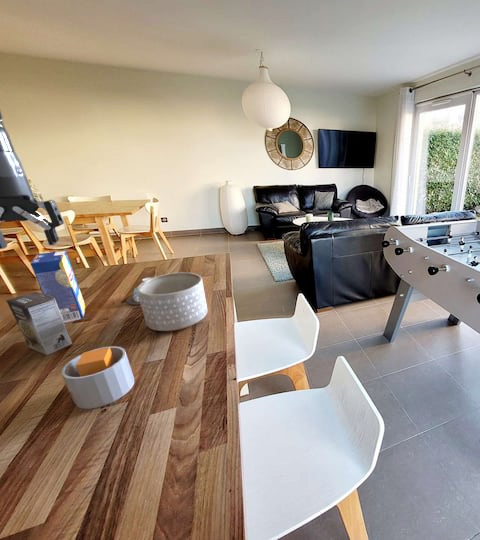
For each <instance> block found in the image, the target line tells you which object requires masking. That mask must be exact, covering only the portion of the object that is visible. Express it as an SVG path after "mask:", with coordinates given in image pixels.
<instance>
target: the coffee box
mask: <svg viewBox="0 0 480 540" xmlns="http://www.w3.org/2000/svg"><path fill="white" fill-rule="evenodd" d="M5 301H6V304H7V305H8V307H9V309H10V311H11V314H12V316H13V318H14V319H15V321H16V323H17V325H18V327H19V329H20V332H21V334H22V336H23V338H24V341H25V343H26V344H27V346H28V348H29V349H31V350H34V351H35V352H38V353H40V354H43V355H46V356H48V355H51V354H53V353H55V352H57V351H60V350H63V349H64V348H66V347H68V346H71V345H73V341H72V339H71V337H70V334H69V332H68V329H67V326H66V324H65V323H64V321H63V318H62V316H61V313H60V311H59V308H58V306H57V303H56V301H55V298H54V297H51V296H47V295H44V294H43V293H41V292H38V291H34V292H30V293H28V294H21V295H19V296H16V297H12V298H10V299H7V300H5Z"/></svg>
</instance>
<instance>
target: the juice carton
mask: <svg viewBox="0 0 480 540" xmlns="http://www.w3.org/2000/svg"><path fill="white" fill-rule="evenodd" d="M108 347H109V348H104V349H99V350H94V349H93V350H94V351H91V350H89V352H88V351H84V352H82V356H81V358H80V359H79V361H78V363H77V364H76V367H77V369H78V372H79V374H80V377H84V376H88V375H93V374H95V373H98V372H101V371H103V370H105V369H107V368H109V367H111V366H113V365H114V364H115V361H114V358H113V356H112V353H111V350H110V347H111V346H108Z"/></svg>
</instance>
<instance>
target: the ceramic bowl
mask: <svg viewBox="0 0 480 540" xmlns="http://www.w3.org/2000/svg"><path fill="white" fill-rule="evenodd" d="M109 347H110V350H111V353H112V356H113V358H114V361H115V364H114V365H113V366H111V367H109V368H107V369H105V370H103V371H101V372H98V373H95V374H93V375H88V376H84V377H80V374H79V372H78V369H77V367H76V364H77V363H78V361H79V359H80V358H81V356H82V354H83V353H82V354H79V355H77V356H76V357H74V358H72V359H71V360H69V361H68V362H67V363H65V365H64V366H63V368H62V369H61V377H62V378H63V381H64V383H65V385H66V387H67V388H66V389H68V392H69V395H70V397H71V399H72V401H73V403H74V405H75V406H76V407H77V408H79V409H82V410H92V409H97V408H98V409H99V408H101V407H104V406H107V405H109V404H112V403H114V402H116V401H118V400H119V399H121V398H123V397H124V396H125V395H127V393H128V392H130V391H131V390H132V388H133V387H134V385H135V382H136V381H135V376H134V374H133V370H132V367H131V364H130V361H129V358H128V355H127V352H126V350H125V348H123V347H122V346H115V345H111V346H104V347H103V346H102V347H98V348H95V349H92V350H89V351H94V350H99V349H104V348H109ZM89 351H87V352H89Z"/></svg>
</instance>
